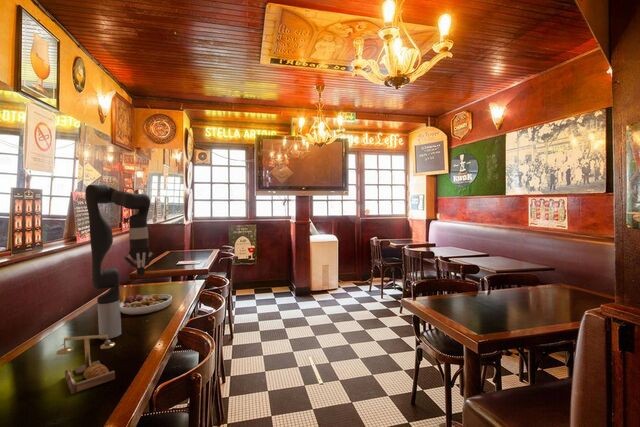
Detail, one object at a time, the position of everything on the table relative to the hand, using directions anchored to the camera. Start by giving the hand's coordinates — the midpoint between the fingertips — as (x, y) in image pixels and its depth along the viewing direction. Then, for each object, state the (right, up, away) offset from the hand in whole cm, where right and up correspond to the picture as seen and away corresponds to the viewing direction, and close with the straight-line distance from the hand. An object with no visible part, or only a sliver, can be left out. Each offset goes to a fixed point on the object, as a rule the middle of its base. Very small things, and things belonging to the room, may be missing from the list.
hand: (140, 275), depth 145 cm
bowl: (-29, -32, +58) cm, 73 cm away
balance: (-10, -33, -20) cm, 39 cm away
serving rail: (-4, -33, -27) cm, 42 cm away
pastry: (-2, -33, -25) cm, 42 cm away
